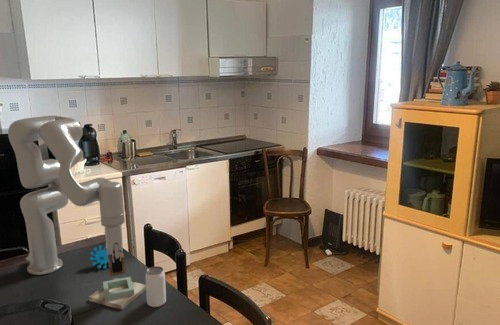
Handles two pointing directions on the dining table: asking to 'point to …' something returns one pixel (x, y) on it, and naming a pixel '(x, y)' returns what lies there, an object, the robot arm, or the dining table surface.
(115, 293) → the pocket
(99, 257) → the gear
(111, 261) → the block
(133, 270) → the dining table surface
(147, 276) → the can
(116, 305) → the board
